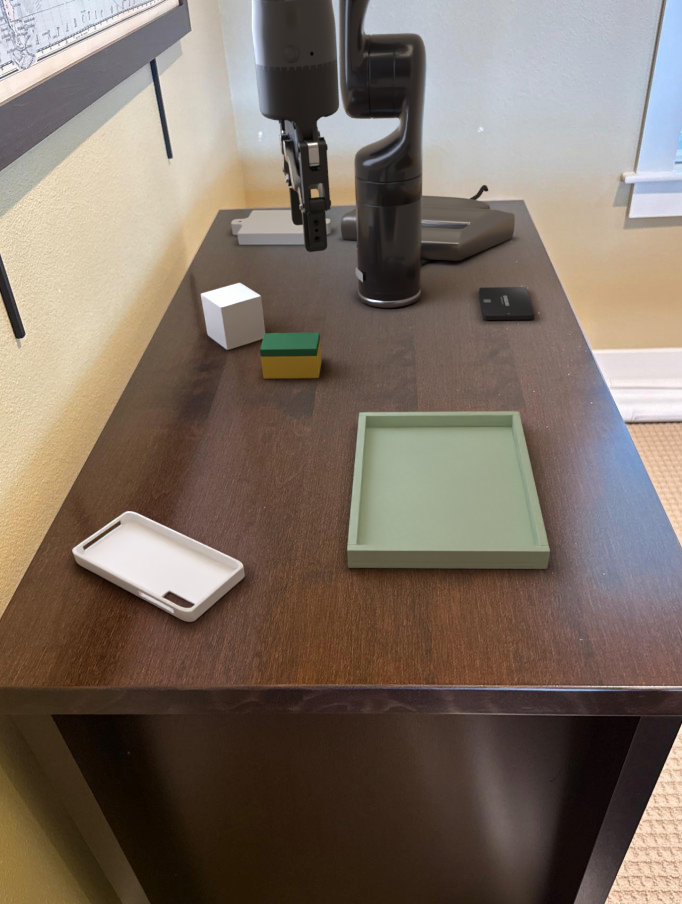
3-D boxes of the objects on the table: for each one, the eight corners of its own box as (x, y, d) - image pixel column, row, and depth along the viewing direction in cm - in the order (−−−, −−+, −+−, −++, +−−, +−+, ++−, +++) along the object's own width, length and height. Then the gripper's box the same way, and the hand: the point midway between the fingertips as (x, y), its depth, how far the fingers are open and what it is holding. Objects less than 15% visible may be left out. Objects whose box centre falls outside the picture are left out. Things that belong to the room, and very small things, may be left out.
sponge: (268, 361, 101) (264, 333, 98) (321, 361, 100) (319, 332, 98) (263, 378, 97) (259, 349, 95) (318, 378, 97) (316, 348, 94)
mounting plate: (335, 220, 144) (334, 209, 143) (325, 244, 134) (325, 233, 133) (241, 220, 146) (239, 210, 145) (224, 244, 136) (223, 233, 135)
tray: (359, 428, 87) (359, 412, 86) (517, 427, 86) (519, 410, 85) (348, 568, 69) (346, 550, 68) (547, 569, 68) (550, 551, 67)
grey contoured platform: (472, 176, 144) (539, 220, 123) (470, 206, 148) (535, 254, 127) (327, 193, 139) (371, 243, 118) (328, 224, 143) (371, 277, 122)
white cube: (227, 350, 104) (220, 307, 100) (207, 335, 108) (200, 293, 104) (266, 337, 107) (261, 295, 103) (245, 323, 110) (239, 282, 107)
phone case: (248, 574, 69) (131, 519, 76) (246, 563, 68) (128, 508, 75) (190, 625, 64) (72, 561, 71) (187, 613, 64) (68, 550, 70)
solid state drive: (483, 320, 108) (484, 315, 107) (478, 291, 115) (479, 287, 115) (534, 319, 107) (535, 314, 107) (526, 291, 115) (526, 286, 115)
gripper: (352, 64, 65) (358, 256, 76) (322, 41, 76) (331, 212, 87) (264, 72, 64) (283, 264, 75) (246, 47, 75) (265, 219, 86)
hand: (309, 236), depth 81 cm, fingers open, 8 cm apart
